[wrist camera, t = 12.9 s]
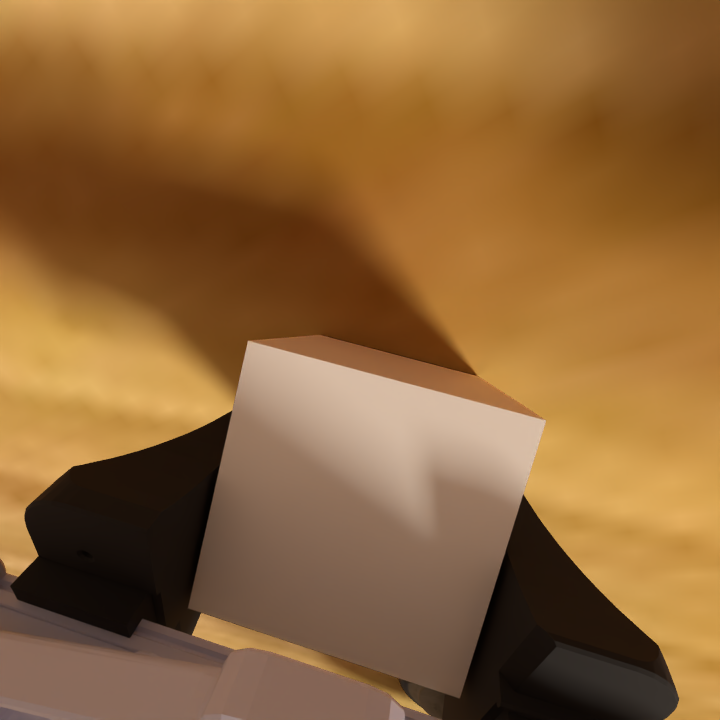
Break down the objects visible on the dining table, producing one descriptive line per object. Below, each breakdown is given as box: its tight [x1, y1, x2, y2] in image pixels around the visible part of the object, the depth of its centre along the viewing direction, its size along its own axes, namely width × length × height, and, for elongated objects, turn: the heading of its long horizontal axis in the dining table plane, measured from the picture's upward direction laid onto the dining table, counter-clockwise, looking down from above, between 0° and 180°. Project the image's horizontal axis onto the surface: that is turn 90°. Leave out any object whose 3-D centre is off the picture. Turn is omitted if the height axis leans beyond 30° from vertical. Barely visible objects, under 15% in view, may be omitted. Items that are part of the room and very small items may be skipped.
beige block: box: [188, 335, 546, 698], centre depth 12 cm, size 6×6×7 cm
